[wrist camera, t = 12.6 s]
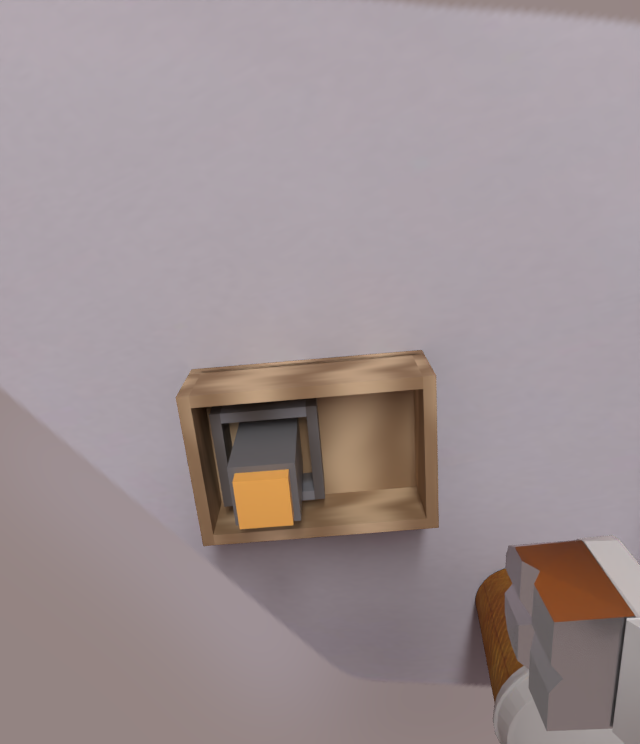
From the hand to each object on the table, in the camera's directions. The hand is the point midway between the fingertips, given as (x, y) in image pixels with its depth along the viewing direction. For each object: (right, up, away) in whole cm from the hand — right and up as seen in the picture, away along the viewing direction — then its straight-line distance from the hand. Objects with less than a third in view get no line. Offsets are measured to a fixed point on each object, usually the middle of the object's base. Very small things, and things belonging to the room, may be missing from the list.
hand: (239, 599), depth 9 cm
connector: (-2, -2, +33) cm, 33 cm away
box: (+1, -1, +33) cm, 33 cm away
